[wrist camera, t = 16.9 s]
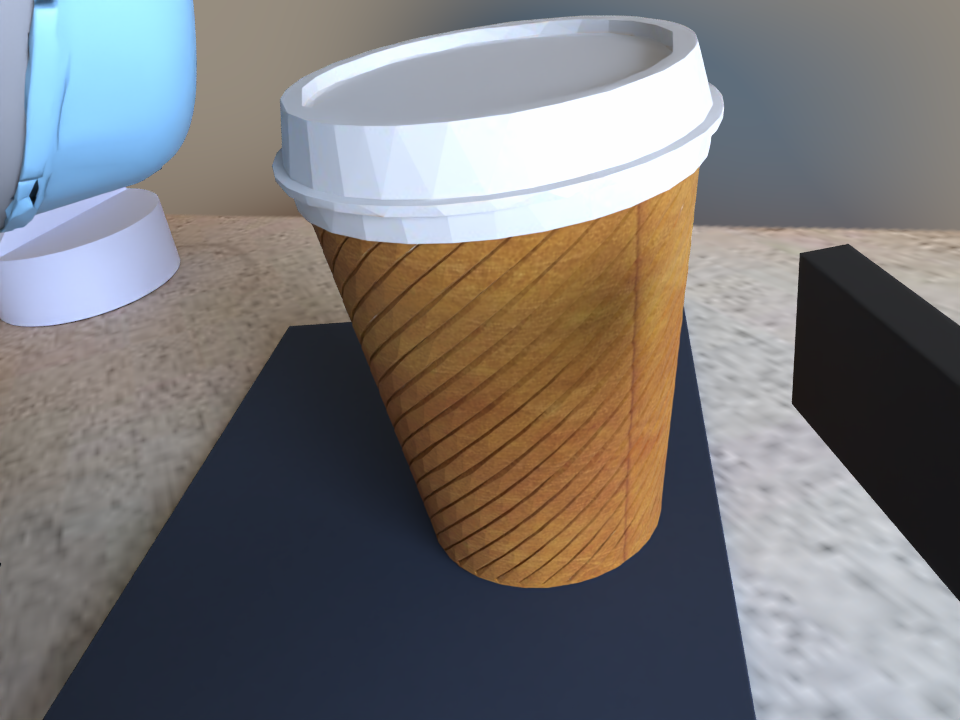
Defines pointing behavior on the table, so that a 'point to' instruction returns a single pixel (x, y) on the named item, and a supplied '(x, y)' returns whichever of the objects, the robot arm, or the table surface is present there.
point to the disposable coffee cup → (516, 269)
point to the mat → (399, 584)
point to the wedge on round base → (85, 259)
